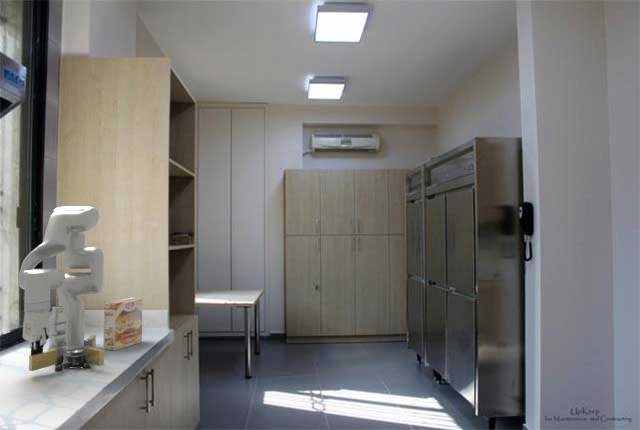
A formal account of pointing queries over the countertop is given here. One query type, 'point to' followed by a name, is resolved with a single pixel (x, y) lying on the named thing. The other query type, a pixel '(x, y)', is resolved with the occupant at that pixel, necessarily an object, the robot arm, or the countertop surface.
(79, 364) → the tribrach base
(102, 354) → the tan block
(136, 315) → the coffeecake box
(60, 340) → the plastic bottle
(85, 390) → the countertop surface
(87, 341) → the knob
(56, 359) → the brushed brass bar
